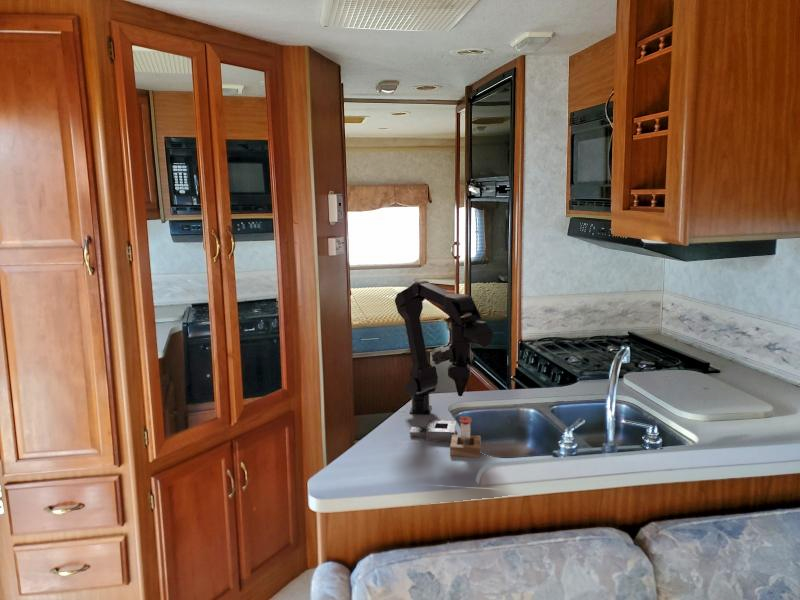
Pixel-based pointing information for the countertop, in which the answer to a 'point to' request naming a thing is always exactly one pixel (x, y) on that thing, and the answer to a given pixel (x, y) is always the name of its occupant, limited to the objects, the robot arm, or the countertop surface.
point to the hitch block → (436, 431)
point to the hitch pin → (465, 430)
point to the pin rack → (465, 446)
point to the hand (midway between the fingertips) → (461, 390)
